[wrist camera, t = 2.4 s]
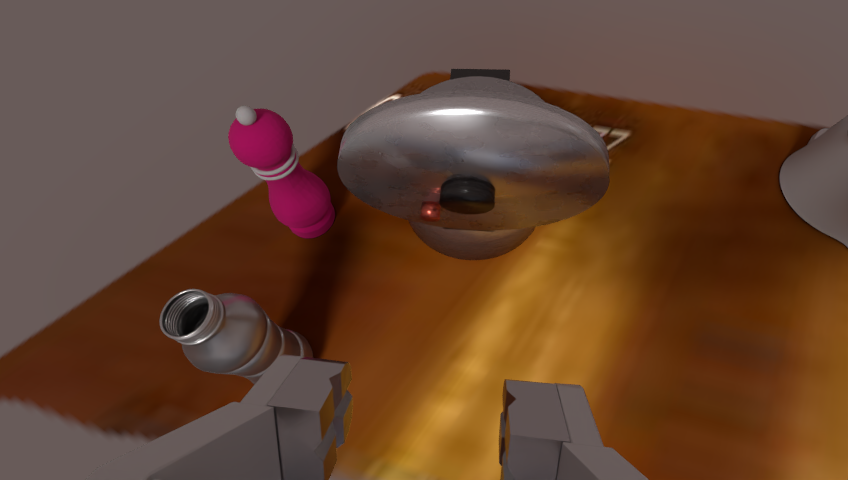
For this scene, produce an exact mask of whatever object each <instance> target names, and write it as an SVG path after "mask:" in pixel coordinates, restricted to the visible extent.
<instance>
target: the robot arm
mask: <svg viewBox="0 0 848 480" xmlns="http://www.w3.org/2000/svg"><path fill="white" fill-rule="evenodd" d="M780 185H781V189H782V192H783V194H784V196H785V198H786V200H787V201H788V203H789V204H790V206H791V207H792V208H793V210H794V211H795V212H796V213H797V214H798V215H799V216H800V217H801V218H802V219H804V220H805V221H806V222H807V223H809V224H810V225H811V226H813V227H814V228H816V229H818V230H819V231H821V232H823V233H825V234H827V235H829V236H831V237H833V238H835V239H837V240H838V241H840V242H842V243H843V244H844V245H846V246H847V247H848V116H846V117H845V118H844V119H842V120H841V121H839V122H838V123H837V124H835V125H834V126H832V127H831V128H824V129H821V130H819V131H818V132H817V133H815V134H814V135H813V136H812V137H811V139H810V141H809V142H808V144H807V145H806V146H805V147H803V148H801V149H800V150H798V151H796V152H794V153H793V154H792V155H790V156H789V157H788V158H787V159H786V160H785V162H784V163H783V165H782V167H781V171H780ZM351 380H352V376H351V366H350V364H349V363H348V362H342V361H334V360H327V359H319V358H311V357H302V356H293V355H281V356H278V357H277V358H276V360H275V361H274V362H273V363H272V364H271V366H270V367H269V368H268V369H267V370H266V372H265V373H264V374H263V375H262V377H261V378H260V379H259V380H258V381H257V383H256V384H255V385H254V386H253V387H252V389H251V390H250V391H249V392H248V394H247V395H246V396H245V397H244V398H243V400H242V401H241V402H240V403H236V402H232V403H230V404H228V405H226V406H224V407H222V408H220V409H218V410H215V411H213V412H211V413H209V414H207V415H205V416H203V417H201V418H199V419H197V420H195V421H193V422H191V423H189V424H186V425H184V426H182V427H180V428H178V429H176V430H174V431H172V432H170V433H168V434H166V435H164V436H162V437H160V438H158V439H155V440H153V441H151V442H149V443H147V444H145V445H143V446H141V447H139V448H137V449H135V450H133V451H131V452H129V453H127V454H124V455H122V456H120V457H118V458H116V459H114V460H112V461H110V462H108V463H106V464H104V465H102V466H100V467H98V468H97V469H95V470H94V471H93V473H91V474H90V475H89V476H88V477H87V478H86V479H85V480H329V478H330V476H331V473H332V471H333V469H334V466H335V464H336V461H337V453H336V448H338V447H339V446H341V445H342V444H343V443H344V442H345V439H346V437H347V434H348V432H349V427H350V423H351V419H352V409H353V399H352V395H351V394H350V393H349V392H348V390H347V388H348V386H349V384H350V382H351ZM499 463H500V465H501V466H502V468H501V478H500V480H648V479H647V478H646V477H645V476H644V475H643V474H641V473H640V472H639V471H638V470H637V469H636V468H635V467H633V466H632V465H631V464H630V463H629V462H628V461H626V460H625V459H624V458H623V457H622V456H621V455H620V454H618V453H617V452H616V451H615V450H614V449H613V448H607V447H604V446H603V443H602V440H601V437H600V434H599V432H598V429H597V426H596V423H595V420H594V417H593V415H592V412H591V409H590V406H589V403H588V400H587V398H586V395H585V392H584V389H583V388H582V387H581V386H580V385H572V384H559V383H555V384H550V383H539V382H529V381H519V380H508V379H505V381H504V387H503V412H502V413H501V416H500V430H499Z"/></svg>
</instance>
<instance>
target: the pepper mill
mask: <svg viewBox="0 0 848 480" xmlns="http://www.w3.org/2000/svg"><path fill="white" fill-rule="evenodd" d="M228 138H229V144H230V147H231V149H232V151H233V153H234V155H235V156H236V157H237V158H238V159H239V160H240V161H241V162H242V163H243V164H245V165H248V166H250V167H251V169H252V170H253V171H254V173H255V174H256V175H257V176H258V177H260V178H261V179H264V180H266V182H267V184H268V187H269V201H270V205H271V209H272V211H273V213H274V214H275V216H276V218H277V219H278V220H279V221H280V222H281V223H283V224H284V225H286V226H289V228H290V229H291V230H292V232H293V233H294V234H296V235H297V236H299V237H302V238H315V237H318V236H320V235H322V234H324V233H325V232H326V231H327V230H328V229H329V228H330V227H331V226H332V224H333V222H334V219H335V210H334V207H333V205H332V204H331V202H330V201H331V197H330V192H329V190H328V188H327V186H326V185H325V183H324V182H323V181H322V180H321V179H320V178H319V177H318V176H316V175H315V174H313V173H312V172H309V171H307V170H305V169H303V168H302V167H301V165H300V164H299V162H298V159H299V157H298V152H297V150H296V148H295V147H294V144H293V135H292V132H291V129H290V127H289V125H288V124H287V123H286V121H285V120H284V119H283V118H282V117H281V116H280V115H278V114H277V113H275V112H273V111H270V110H267V109H252V108H251V107H249V106H241V107H239V108H238V109H237V111H236V119H235V120H234V122H233V123H232V125H231V127H230V131H229V136H228Z"/></svg>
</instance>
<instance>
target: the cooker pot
mask: <svg viewBox="0 0 848 480" xmlns="http://www.w3.org/2000/svg"><path fill="white" fill-rule="evenodd" d="M509 79H510V70H488V69H487V70H486V69H451V77H450V80H448V81H445V82H442V83H439V84H437V85H435V86H432V87H430V88H428V89H427V90H425V91H423V92H422V93H429V92H438V91H453V90H475V91H491V92H499V93H506V94H513V95H519V96H523V97H527V98H531V99H535V100H539V101H542V102H544V101H543V100H542V99H541V98H540V97H539V96H537V95H536V94H535V93H533V92H532V91H530V90H529V89H527V88H525V87H523V86H521V85H519V84H516V83H513V82H511V81H509ZM422 93H420V94H422ZM408 221H409V223H410V225H411V227H412V229H413V230H414V232H415V233H416V234H417V236H418V237H419V238H420V239H421V240H422V241H423V242H424V243H425V244H427V245H428V246H429V247H431V248H432V249H434V250H436V251H438V252H439V253H442V254H444V255H447V256H449V257H453V258H457V259H464V260H484V259H490V258H494V257H498V256H500V255H503V254H506V253H508V252H510V251H512V250H513V249H515V248H516V247H518V246H519V245H521V244H522V243H523V242H524V241H525V240H526V239H527V238H528V237H529V236H530V235H531V233H532V232H533V231H534V229H535V227H530V228H522V229H512V230H464V229H453V228H445V227H438V226H432V225H427V224H422V223H417V222H413V221H410V220H408Z"/></svg>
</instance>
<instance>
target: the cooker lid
mask: <svg viewBox="0 0 848 480" xmlns="http://www.w3.org/2000/svg"><path fill="white" fill-rule="evenodd" d="M337 170H338V174H339V177H340V179H341V181H342V183H343V184H344V185H345V186H346V188H347V189H348V190H349V191H350V192H351V193H353V194H354V195H355V196H356V197H358V198H359V199H360V200H362V201H363V202H365V203H367V204H369V205H370V206H372V207H374V208H376V209H379V210H381V211H383V212H385V213H388V214H391V215H393V216H396V217H399V218H403V219H406V220H410V221H413V222H417V223H422V224H427V225H432V226H438V227H445V228H453V229H464V230H512V229H522V228H530V227H536V226H541V225H546V224H550V223H554V222H558V221H561V220H564V219H567V218H570V217H572V216H575V215H577V214H579V213H581V212H583V211H585V210H587V209H589V208H590V207H591V206H593V205H594V204H596V203H597V202H598V201H599V200H600V199H601V198H602V197H603V195H604V194H605V192H606V190H607V188H608V185H609V155H608V150H607V147H606V144H605V142H604V140H603V139H602V138H601V136H600V135H599V133H598V132H597V131H596V130H594V129H593V128H592V127H591V126H590V125H589V124H588V123H586V122H585V121H583V120H582V119H580V118H579V117H577V116H576V115H574V114H572V113H570V112H568V111H565V110H563V109H561V108H559V107H557V106H554V105H551V104H548V103H545V102H542V101H539V100H535V99H531V98H527V97H523V96H519V95H513V94H506V93H499V92H491V91H475V90H453V91H438V92H429V93H422V94H417V95H412V96H407V97H402V98H399V99H396V100H393V101H389V102H386V103H384V104H382V105H379V106H377V107H375V108H373V109H371V110H369V111H367V112H366V113H364V114H363V115H361V116H359V117H358V118H357V119H356V120H355V121H354V122H353V123H352V124H350V126H349V127H348V129H347V130H346V131H345V133H344V135H343V138H342V141H341V145H340V151H339V157H338V165H337Z"/></svg>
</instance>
